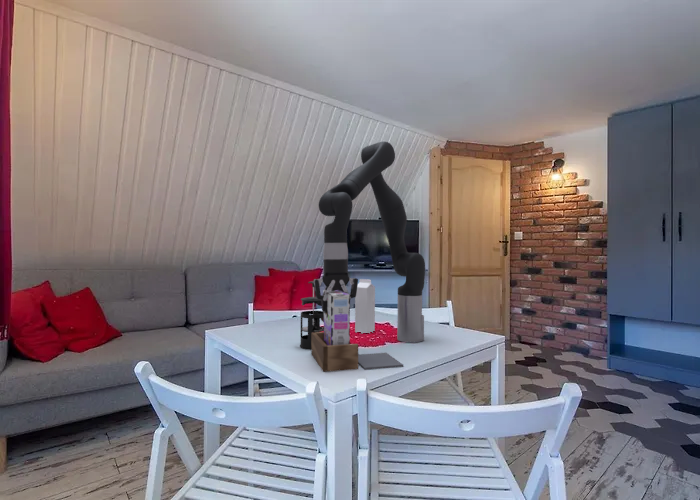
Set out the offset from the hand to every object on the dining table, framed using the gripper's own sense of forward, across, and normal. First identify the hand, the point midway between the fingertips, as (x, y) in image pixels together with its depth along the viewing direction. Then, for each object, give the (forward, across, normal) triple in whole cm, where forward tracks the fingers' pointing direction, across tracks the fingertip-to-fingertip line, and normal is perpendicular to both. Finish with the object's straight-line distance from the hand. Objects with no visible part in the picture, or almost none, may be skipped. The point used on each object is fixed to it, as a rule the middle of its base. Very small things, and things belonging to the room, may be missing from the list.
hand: (336, 312), depth 122 cm
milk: (+16, -22, -38) cm, 46 cm away
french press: (+15, +3, -20) cm, 25 cm away
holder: (+15, 0, 0) cm, 15 cm away
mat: (+15, -12, +4) cm, 20 cm away
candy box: (+10, 0, 0) cm, 10 cm away
